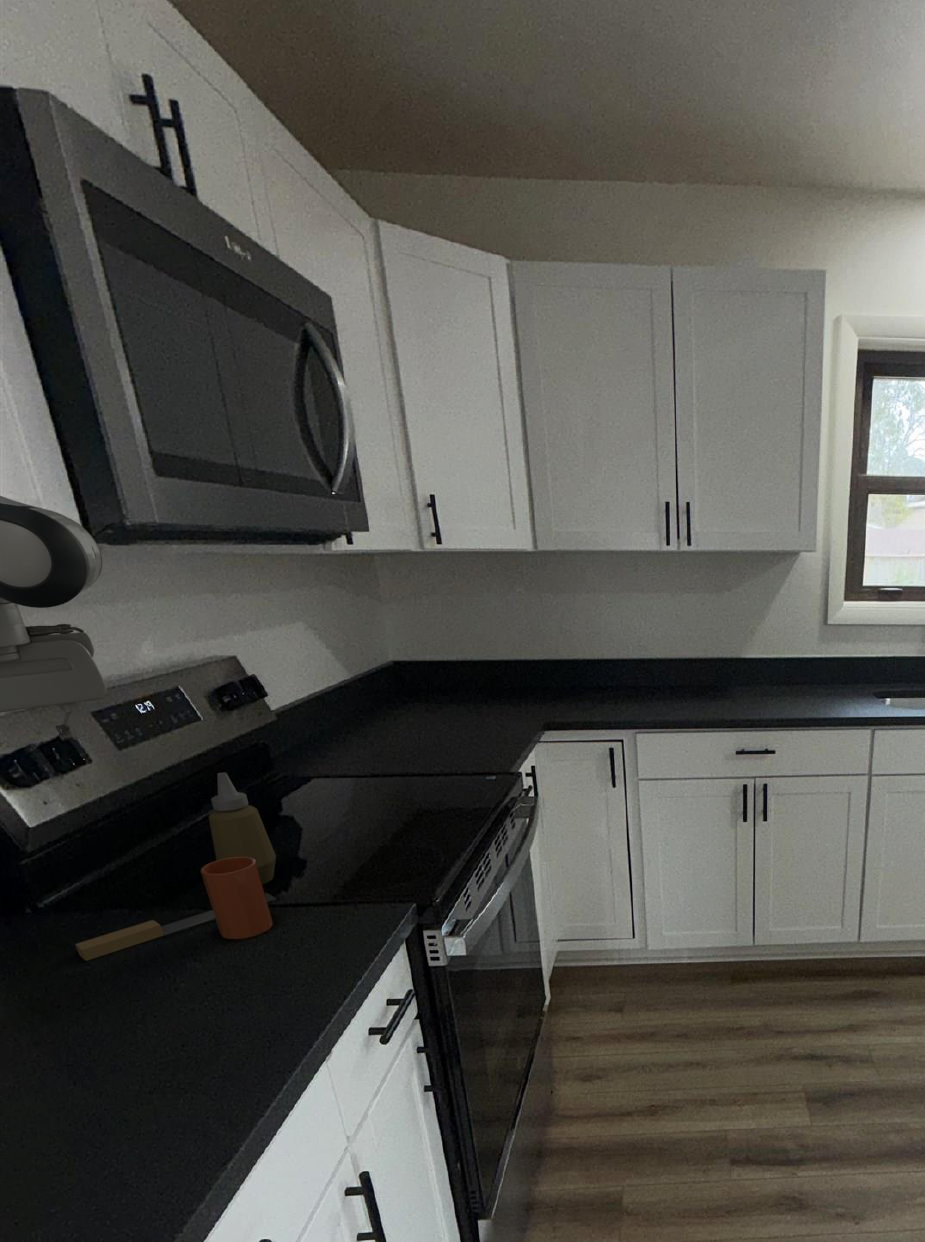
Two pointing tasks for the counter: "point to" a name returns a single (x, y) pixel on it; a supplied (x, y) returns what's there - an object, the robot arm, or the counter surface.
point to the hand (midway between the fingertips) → (22, 747)
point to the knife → (140, 934)
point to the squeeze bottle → (239, 829)
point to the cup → (237, 897)
